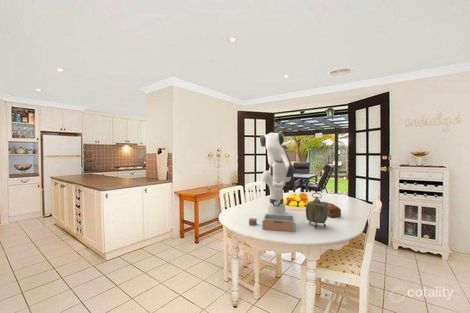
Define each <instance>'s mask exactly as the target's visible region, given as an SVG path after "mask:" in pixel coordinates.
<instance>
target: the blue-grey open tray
mask: <svg viewBox="0 0 470 313" xmlns="http://www.w3.org/2000/svg"><path fill="white" fill-rule="evenodd" d="M262 218H263V219H262V223H261V224H262V227H261V228H262V230H266V229H265V219H273V220H288V221H293V233H296V219H295V215H290V214H288V215H275V214H266V213H264V215H263V217H262Z"/></svg>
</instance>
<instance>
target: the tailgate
mask: <svg viewBox="0 0 470 313" xmlns="http://www.w3.org/2000/svg"><path fill="white" fill-rule="evenodd" d="M264 230H268V231H269V230H270V231H281V232H293V221H288V220H273V219H265V229H264ZM293 233H294V232H293Z"/></svg>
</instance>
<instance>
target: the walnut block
mask: <svg viewBox="0 0 470 313" xmlns="http://www.w3.org/2000/svg"><path fill="white" fill-rule="evenodd" d="M257 221H258V219H257V218H254V217H250V218H249V219H248V225H249V226H257Z"/></svg>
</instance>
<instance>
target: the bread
mask: <svg viewBox="0 0 470 313" xmlns="http://www.w3.org/2000/svg"><path fill="white" fill-rule="evenodd" d="M323 202H324V203H326V204H327V206H328V217H329V218H340V217H341V216H342V210H341V208H340V207H339V206H338V205H336V204H334V203H330V202H327V201H323Z"/></svg>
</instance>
